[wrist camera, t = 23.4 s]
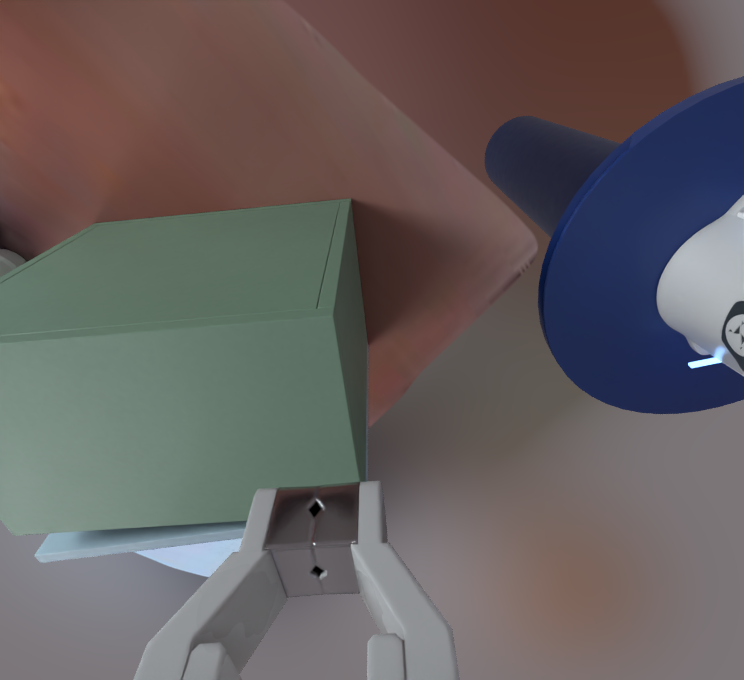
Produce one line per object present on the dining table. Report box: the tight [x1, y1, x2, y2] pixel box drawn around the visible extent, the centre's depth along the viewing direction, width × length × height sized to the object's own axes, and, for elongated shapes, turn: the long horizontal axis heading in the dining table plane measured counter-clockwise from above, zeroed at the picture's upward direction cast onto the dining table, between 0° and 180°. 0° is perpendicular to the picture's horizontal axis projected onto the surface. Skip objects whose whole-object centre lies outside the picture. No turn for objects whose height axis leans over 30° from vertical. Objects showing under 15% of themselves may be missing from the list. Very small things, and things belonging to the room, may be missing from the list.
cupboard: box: [0, 199, 367, 536], centre depth 38 cm, size 16×26×24 cm, turn 95°
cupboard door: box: [35, 342, 369, 563], centre depth 45 cm, size 6×26×24 cm, turn 101°
